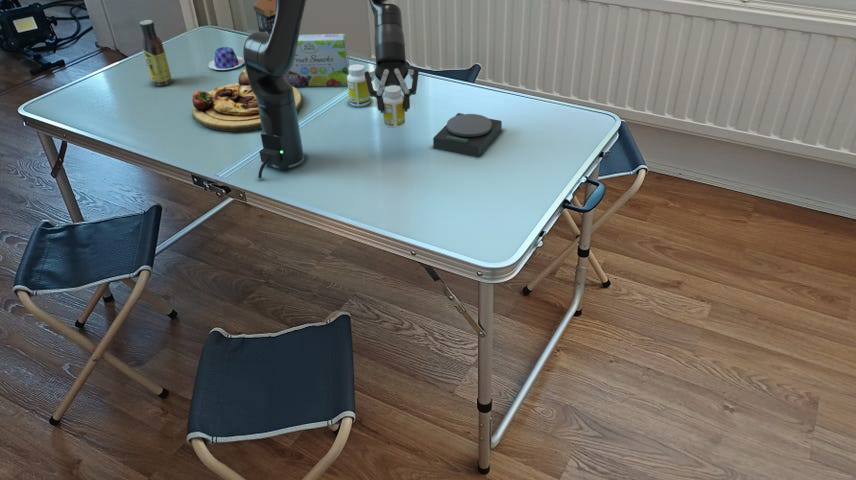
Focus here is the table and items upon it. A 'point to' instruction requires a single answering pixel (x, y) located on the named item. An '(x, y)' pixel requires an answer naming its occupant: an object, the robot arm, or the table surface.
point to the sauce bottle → (155, 55)
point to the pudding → (225, 59)
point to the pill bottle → (357, 86)
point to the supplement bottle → (393, 107)
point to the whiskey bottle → (265, 14)
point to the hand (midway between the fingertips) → (394, 110)
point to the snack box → (320, 61)
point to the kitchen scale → (467, 134)
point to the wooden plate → (231, 106)
